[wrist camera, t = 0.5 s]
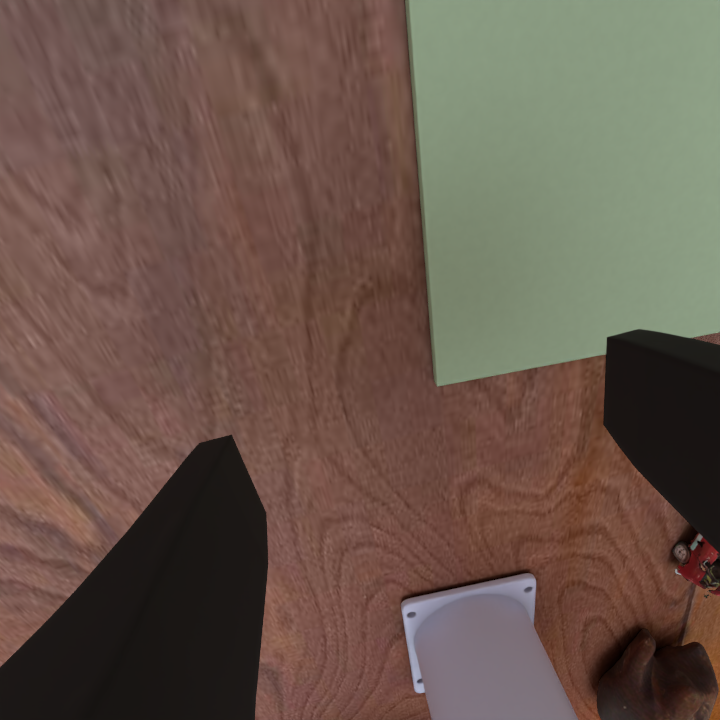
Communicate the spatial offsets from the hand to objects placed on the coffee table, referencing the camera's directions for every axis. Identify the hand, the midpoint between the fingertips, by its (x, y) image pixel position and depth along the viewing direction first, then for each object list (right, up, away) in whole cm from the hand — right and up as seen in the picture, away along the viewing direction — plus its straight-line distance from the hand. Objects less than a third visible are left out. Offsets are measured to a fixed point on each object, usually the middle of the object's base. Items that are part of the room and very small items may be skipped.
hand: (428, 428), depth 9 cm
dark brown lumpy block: (+19, -21, +25) cm, 37 cm away
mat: (+10, +10, +8) cm, 16 cm away
